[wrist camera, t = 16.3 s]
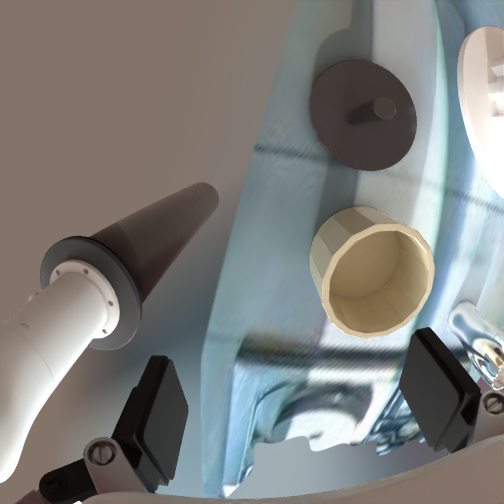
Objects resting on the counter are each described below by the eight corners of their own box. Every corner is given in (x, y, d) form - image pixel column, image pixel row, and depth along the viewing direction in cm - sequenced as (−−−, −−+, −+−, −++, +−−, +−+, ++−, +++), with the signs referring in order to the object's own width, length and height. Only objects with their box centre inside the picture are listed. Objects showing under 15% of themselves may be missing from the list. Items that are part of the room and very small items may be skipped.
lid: (312, 170, 31) (323, 174, 25) (302, 60, 27) (311, 41, 21) (414, 171, 30) (441, 176, 24) (406, 69, 26) (430, 57, 20)
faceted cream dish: (309, 304, 36) (319, 344, 28) (308, 208, 32) (322, 226, 24) (396, 295, 36) (422, 329, 27) (404, 205, 31) (440, 221, 23)
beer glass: (454, 296, 35) (509, 352, 21) (480, 299, 35) (533, 348, 21) (437, 334, 38) (482, 395, 24) (464, 334, 38) (509, 388, 24)
